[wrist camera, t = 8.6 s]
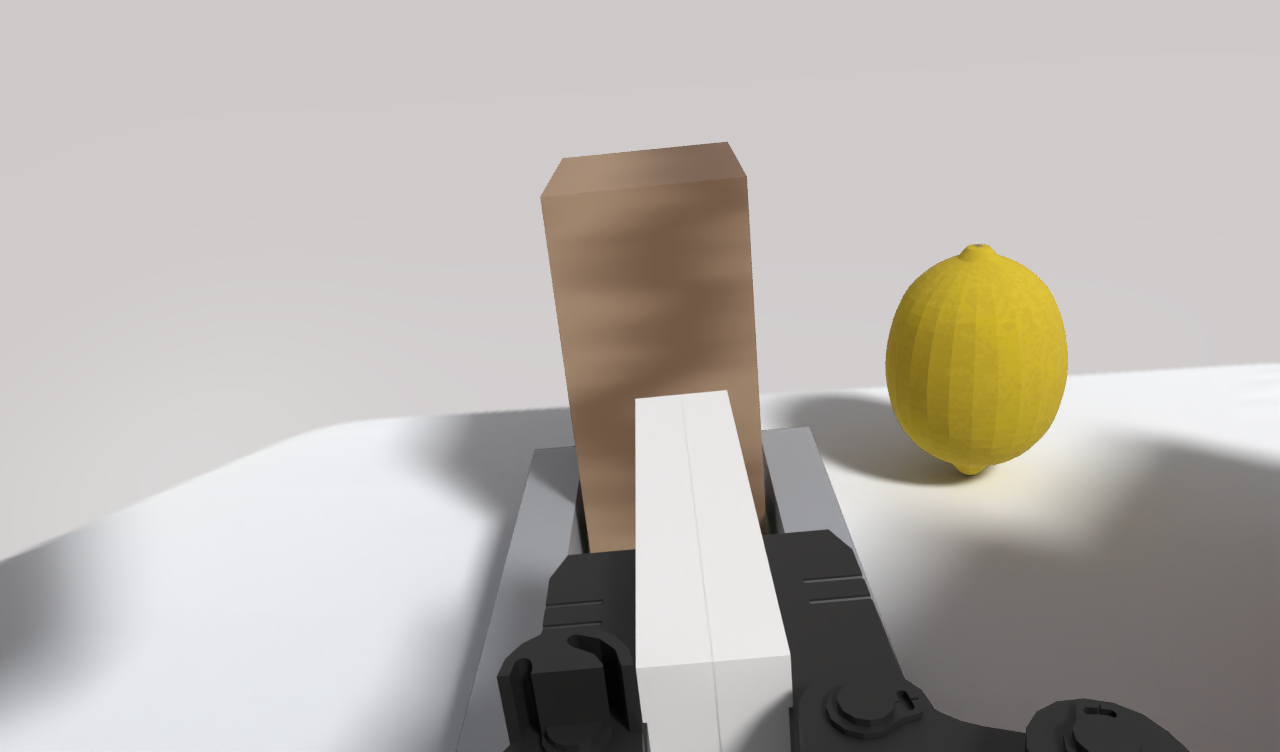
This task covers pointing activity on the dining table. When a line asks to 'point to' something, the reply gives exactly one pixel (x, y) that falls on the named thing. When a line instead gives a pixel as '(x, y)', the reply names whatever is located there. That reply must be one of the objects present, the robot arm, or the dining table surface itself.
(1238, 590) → the dining table surface
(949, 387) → the lemon
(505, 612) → the chute
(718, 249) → the block
